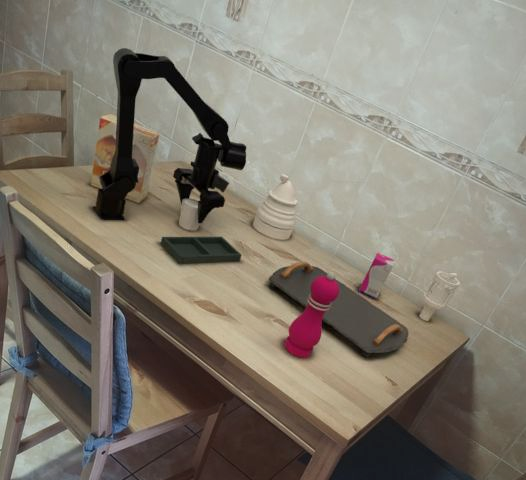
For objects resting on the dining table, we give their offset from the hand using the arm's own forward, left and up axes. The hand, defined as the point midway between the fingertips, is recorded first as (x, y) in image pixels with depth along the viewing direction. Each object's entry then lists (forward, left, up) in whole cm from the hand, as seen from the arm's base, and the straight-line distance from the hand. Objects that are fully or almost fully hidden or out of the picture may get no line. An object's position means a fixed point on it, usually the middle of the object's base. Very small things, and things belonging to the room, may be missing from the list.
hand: (191, 215), depth 145 cm
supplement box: (+40, -40, -4) cm, 57 cm away
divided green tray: (-5, -15, -3) cm, 16 cm away
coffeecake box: (-12, +21, -4) cm, 24 cm away
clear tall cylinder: (+50, -55, -4) cm, 74 cm away
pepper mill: (-5, -57, -4) cm, 57 cm away
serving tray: (+18, -47, -4) cm, 50 cm away
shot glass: (0, 0, -4) cm, 4 cm away
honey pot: (+31, -2, -4) cm, 31 cm away
